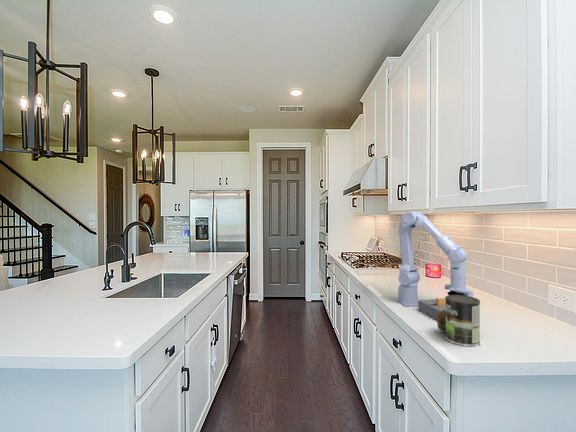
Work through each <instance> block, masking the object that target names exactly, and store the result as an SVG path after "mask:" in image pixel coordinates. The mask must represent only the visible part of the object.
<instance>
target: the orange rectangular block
mask: <svg viewBox="0 0 576 432" xmlns="http://www.w3.org/2000/svg"><path fill="white" fill-rule="evenodd" d="M435 299H436V306H440V305H446V300H445V297H436V298H435Z"/></svg>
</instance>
